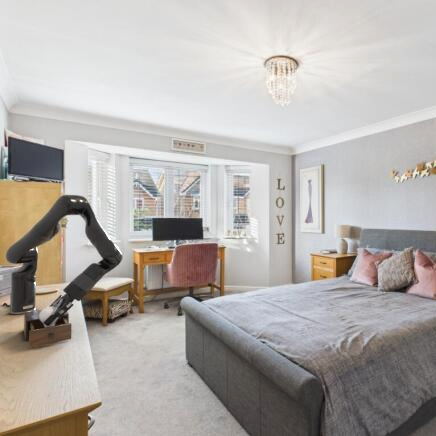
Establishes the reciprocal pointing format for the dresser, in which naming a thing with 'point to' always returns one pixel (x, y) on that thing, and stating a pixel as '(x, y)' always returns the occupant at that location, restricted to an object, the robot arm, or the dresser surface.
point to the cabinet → (34, 317)
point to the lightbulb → (47, 315)
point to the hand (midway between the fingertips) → (44, 322)
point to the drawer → (49, 332)
